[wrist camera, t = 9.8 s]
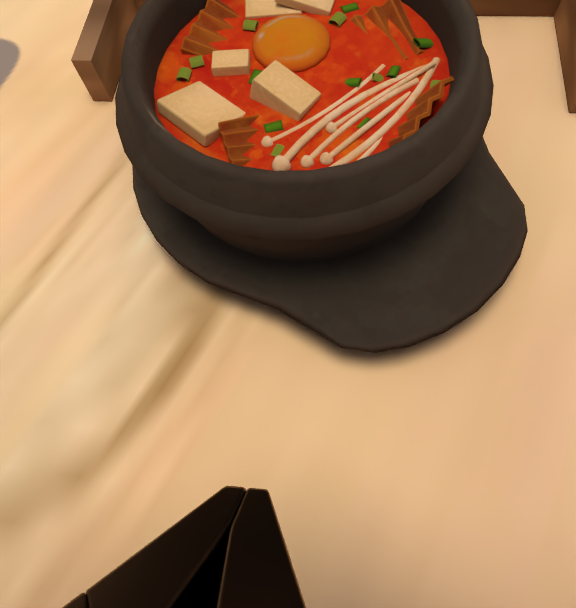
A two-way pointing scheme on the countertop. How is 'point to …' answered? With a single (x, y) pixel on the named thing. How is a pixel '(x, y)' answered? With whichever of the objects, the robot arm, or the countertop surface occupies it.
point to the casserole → (323, 158)
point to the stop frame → (125, 3)
